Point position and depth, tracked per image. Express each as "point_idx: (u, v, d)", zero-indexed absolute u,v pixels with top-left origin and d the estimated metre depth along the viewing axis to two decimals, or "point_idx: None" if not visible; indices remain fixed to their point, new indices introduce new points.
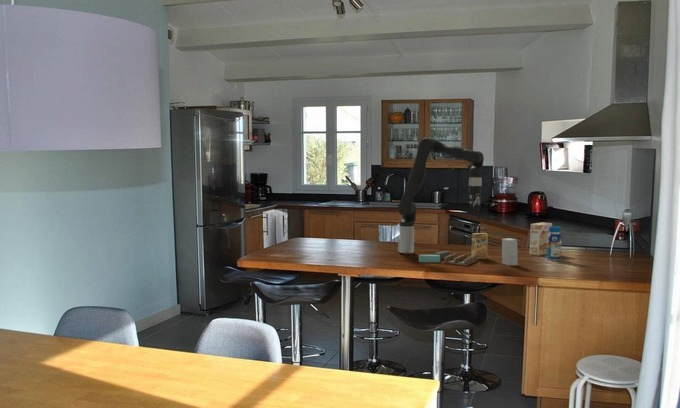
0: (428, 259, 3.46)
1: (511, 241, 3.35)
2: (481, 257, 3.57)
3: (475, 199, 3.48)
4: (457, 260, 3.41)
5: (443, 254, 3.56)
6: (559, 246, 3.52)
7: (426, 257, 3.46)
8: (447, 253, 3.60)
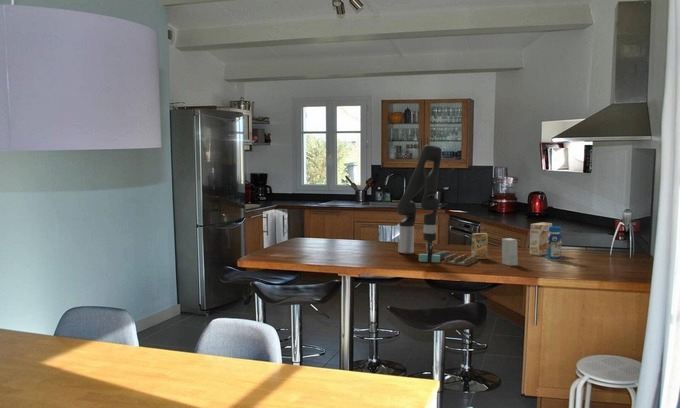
0: None
1: (511, 241, 3.35)
2: (481, 257, 3.57)
3: (426, 246, 3.49)
4: (457, 260, 3.41)
5: (443, 254, 3.56)
6: (559, 246, 3.52)
7: (426, 256, 3.46)
8: (447, 253, 3.59)
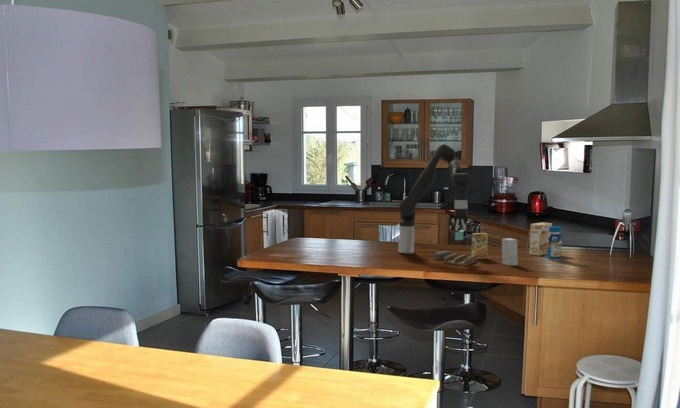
0: None
1: (511, 241, 3.35)
2: (481, 257, 3.57)
3: None
4: (457, 260, 3.41)
5: (443, 254, 3.56)
6: (559, 246, 3.52)
7: None
8: (447, 253, 3.59)
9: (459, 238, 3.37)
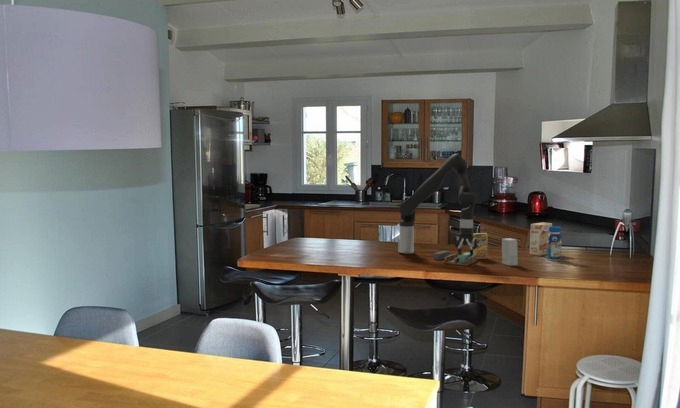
0: None
1: (511, 241, 3.35)
2: (481, 257, 3.57)
3: None
4: (457, 260, 3.41)
5: (443, 254, 3.56)
6: (559, 246, 3.52)
7: None
8: (447, 253, 3.59)
9: (462, 260, 3.40)
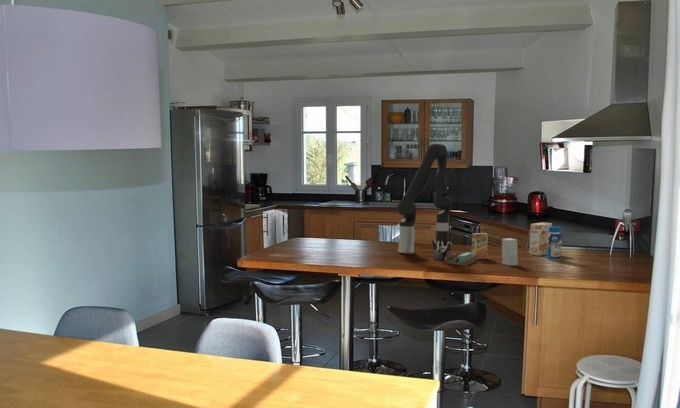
0: None
1: (511, 241, 3.35)
2: (481, 257, 3.57)
3: (437, 244, 3.58)
4: (457, 260, 3.41)
5: None
6: (559, 246, 3.52)
7: None
8: (447, 252, 3.59)
9: (462, 260, 3.40)
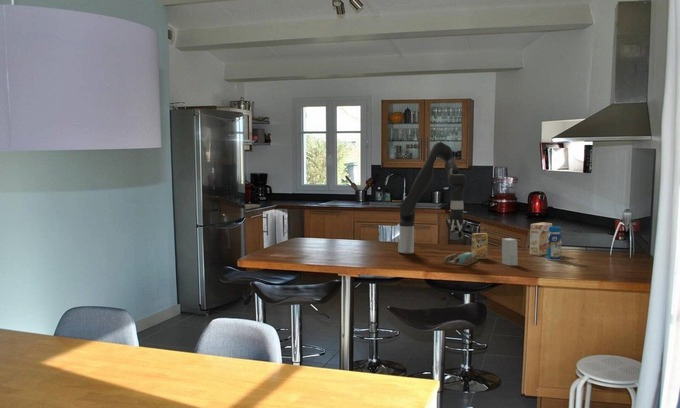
0: None
1: (511, 241, 3.35)
2: (481, 257, 3.57)
3: None
4: (457, 260, 3.41)
5: None
6: (559, 246, 3.52)
7: None
8: None
9: (462, 260, 3.40)
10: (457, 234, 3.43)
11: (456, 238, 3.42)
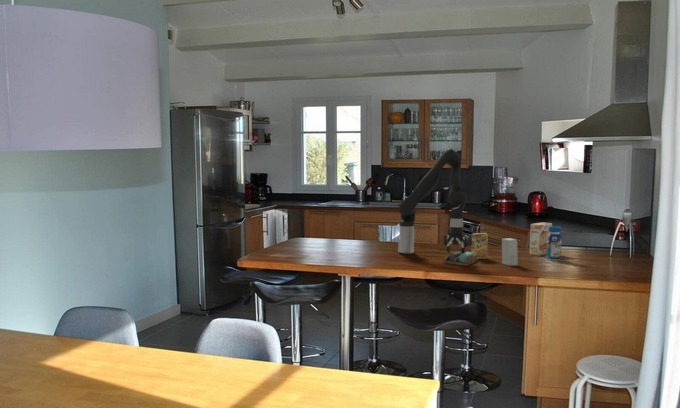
0: None
1: (511, 241, 3.35)
2: (481, 257, 3.57)
3: (461, 240, 3.47)
4: (457, 260, 3.41)
5: None
6: (559, 246, 3.52)
7: None
8: None
9: (463, 260, 3.39)
10: (456, 255, 3.44)
11: None
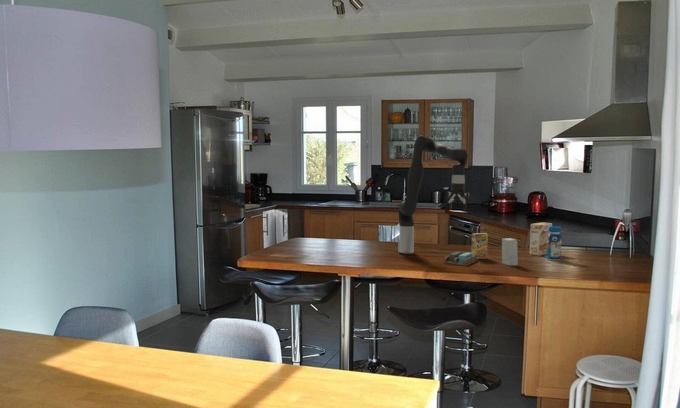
0: None
1: (511, 241, 3.35)
2: (481, 257, 3.57)
3: None
4: (457, 260, 3.41)
5: None
6: (559, 246, 3.52)
7: None
8: None
9: (462, 260, 3.40)
10: (456, 255, 3.44)
11: None
